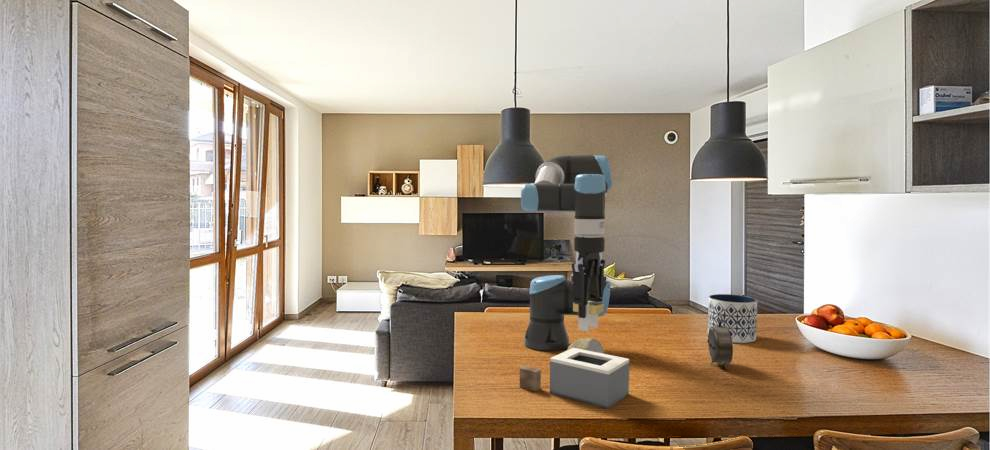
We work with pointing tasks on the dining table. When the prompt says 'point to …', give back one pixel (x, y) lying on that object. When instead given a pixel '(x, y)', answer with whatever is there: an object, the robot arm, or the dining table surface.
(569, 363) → the box
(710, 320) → the planter
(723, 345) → the alarm clock
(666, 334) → the dining table surface
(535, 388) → the stand
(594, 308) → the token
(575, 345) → the coral
